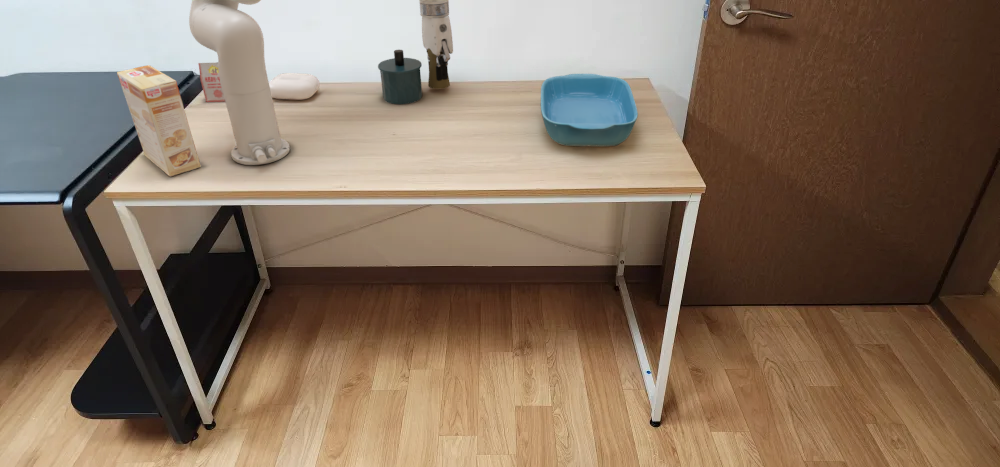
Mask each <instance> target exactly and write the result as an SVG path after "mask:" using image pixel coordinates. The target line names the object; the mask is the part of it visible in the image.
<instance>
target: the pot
mask: <svg viewBox="0 0 1000 467" xmlns="http://www.w3.org/2000/svg"><path fill="white" fill-rule="evenodd" d="M379 74H380V82H381V89H382V98H383V100H384V102H386V103H388V104H392V105H393V104H394V105H409V104H413V103H416V102H418V101H420V100H421V99H422V98H423V90H422V76H421V68H419V69H418V70H416V71H413V72H408V73H399V74H394V73H386V72H382V71H380V70H379Z"/></svg>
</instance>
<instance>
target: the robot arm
mask: <svg viewBox="0 0 1000 467" xmlns="http://www.w3.org/2000/svg"><path fill="white" fill-rule="evenodd" d="M261 1H262V0H191V3H190V9H189V18H188V19H189V20H188V24H189V30H190V33H191V35H192V37H193V39H195V41H196V42H197V43H198V44H200V45H201V46H203V47H204V48H207V49H208V50H211V51H214V52H215V53H216V54H217V60H218V70H219V79H220V83H221V87H222V91H223V94H224V98H225V101H224V103H225V106H226V110H227V115H228V118H229V121H230V125H231V130H232V133H233V137H234V141H235V146H234V147H233V148H232V149H231V151H230V156H231V159H232V161H234V162H235V163H237V164H240V165H245V166H259V165H267V164H270V163H273V162H277V161H279V160H281V159H283V158H284V157H286V156H287V155H288V154H289V153H290V151H291V146H290V143H289V141H287V140H286V139H284V138H281V133H280V129H279V124H278V119H277V115H276V111H275V105H274V101H273V97H272V95H271V91H270V86H269V82H270V81H269V77H268V72H267V68H266V59H265V38H264V33H263V31H262V29H261V26H260V25H259V23H258V22H257V21H256V19H254V18H253V17H252V16H251V15H250V14H248V13H247V12H244V11H242V10H240V9H238V8H239V5H240V4H241V5H247V6H249V5H250V6H251V5H256V4H258V3H259V2H261ZM418 3H419V15H420V17H421V34H422V35H421V38H422V45H423V48H424V49H426V53H427V51H428V48H429V49H430V50H431V51H432V53H433V54H435V55H436V62H437V66H436V79H437V80H438V81H441V80H442V79H443V80H446V79H448V76H449V71H448V66H449V61H450V60H451V55H452V54H453V53H454V43H453V42H454V41H453V33H452V25H451V20H450V19H451V18H450V16H449V15H450V2H449V0H418ZM440 52H443V54H440ZM442 56H443V58H441V59H440V58H439V57H442ZM427 62H428V66H429V65H430V58H429V56H428V53H427Z"/></svg>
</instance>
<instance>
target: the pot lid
mask: <svg viewBox="0 0 1000 467" xmlns="http://www.w3.org/2000/svg"><path fill="white" fill-rule="evenodd" d="M393 57H394V58H388V59H385V60H382V61H381V62H379V63H378V64H377V69H378V70H379V72H380V71H382V72H386V73H394V74H399V73H408V72H413V71H416V70H418V69H419V68H420V69H421V68H422V62H421V61H420V60H419V59H416V58H412V57H405V56H404V50H403V49H395V50H394V51H393Z"/></svg>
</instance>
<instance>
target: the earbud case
mask: <svg viewBox="0 0 1000 467" xmlns="http://www.w3.org/2000/svg"><path fill="white" fill-rule="evenodd" d="M268 82H269V86H270V91H271V95H272V99H273V98H274V99H276V100H293V101H294V100H297V101H298V100H299V101H300V100H301V101H303V100H308V99H310V98H311V97H313V96H314V95H315V94H316V93H317V91H319V89H320V87H321V84H320V79H319V78H318V77H317V76H316V75H314V74H311V73H298V72H297V73H295V72H294V73H293V72H285V73H280V74H277V75H276V76H274V77H273V78H272V79H271V80H270V81H268Z"/></svg>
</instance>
